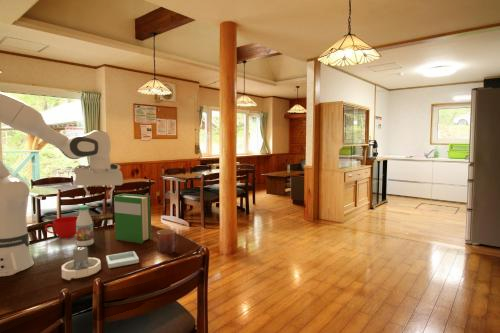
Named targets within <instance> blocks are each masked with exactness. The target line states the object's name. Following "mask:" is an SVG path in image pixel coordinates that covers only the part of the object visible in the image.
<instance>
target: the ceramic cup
mask: <svg viewBox="0 0 500 333" xmlns="http://www.w3.org/2000/svg"><path fill="white" fill-rule="evenodd" d="M77 218H78V216H61V217H57V218H54V219H53V220H52V224H51V223H49V224H46V225H45V226H44V230H45V232H46V233H49V234H54V235H57V236H58V237H59V238H60V239H66V240H67V239H71V238H74V237H75V236H76V221H77ZM49 226H51V227H52V228H53V230H54V231H49V230H48V228H47V227H49Z"/></svg>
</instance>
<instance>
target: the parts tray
mask: <svg viewBox="0 0 500 333" xmlns="http://www.w3.org/2000/svg"><path fill="white" fill-rule="evenodd" d="M105 260H106V263H107V266H108V269H113V268H117V267H123V266H128V265H134V264H138V263H140V259H139V256H138V255H137V253H136V252H135V251H134V250H133V251H132V250H131V251H126V252H119V253H114V254H109V255H108V254H107V255H105Z"/></svg>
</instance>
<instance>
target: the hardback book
mask: <svg viewBox="0 0 500 333" xmlns="http://www.w3.org/2000/svg"><path fill="white" fill-rule="evenodd" d="M113 205H114V227H115V228H114V232H115V241H116V240H117V241H122V242H124V241H125V242H130V243H135V242H136V244H143V243H144V242H145V241H146V240H148V239H150V240H152V232H151V231H152V226H151V196H150V195H143V194H142V195H141V194H132V193H131V194H130V193H121V194H117V195H114V196H113Z"/></svg>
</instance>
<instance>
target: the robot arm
mask: <svg viewBox="0 0 500 333" xmlns="http://www.w3.org/2000/svg"><path fill="white" fill-rule="evenodd" d="M0 123H2V124H3V125H5V126H8V127H10V128H11V129H15V130H16V131H19V132H22V133H24V134H28V135H30V136H33V137H37V138H38V139H40V140H42V141H45V143H48V144H50V145H52V146H54V147H56V148H57V149H58V150H59V151H60V152H61V153H62V154H63V155H64V156H65V157H66V158H68V159H71V160H79V159H81V158H87V157H88V158H89V164H88V165H86V164H85V165H81V164H79V165H76V166H75V167H74V172H73V173H74V174H75V179H74V185H75V186H83V190H84V191H85V195H86V196H90V195H91V194H90V192H91V191H88V186H110V187H111V190H108V195H109V196H112V195H113V191H114V190H115V187H116V186H122V185H123V184H124V179H123V172H122V171H121V170H120V169H121V165H120V164H118V163H117V164H116V163H114V162H111V157H110V156H111V154H110V153H111V150H112V149H111V147H112V146H111V137H110V134H109V133H108V132H106V131H102V130H92V131H90V132H88V133H85V134H82V135H77V136H75V137H69V136H67V135H64V134H62V133H61V132H59V131H57V130H56V129H53V128H52V127H50V126H49V125H48V124H47V123H46V121H45V120H44V117H43V115H42V113H41V112H39V111H38V110H37V109H36V108H34V107H32V106H31V105H30V104H28V103H26V102H24V101H22V100H20V99H18V98H15V96H14V97H13V96H12V95H9V94H6V93H3V92H2V91H0ZM29 196H30V188H29V185H28V184H27V182H26V181H24V180H23V179H21V178H18V177H16V176H14V175H13V173H11V171H10V170H9V169H8V167H6V165H5V164H4V162H3V160H1V159H0V277H7V276H13V275H15V274H16V273H19V272H21V271H24V270H27V269H29V268H30V267H33V265H34V263H35V262H34V260H33V258H32V255H31V251H30V235H29V232H28V221H27V213H28V212H27V211H28V202H29Z"/></svg>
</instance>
